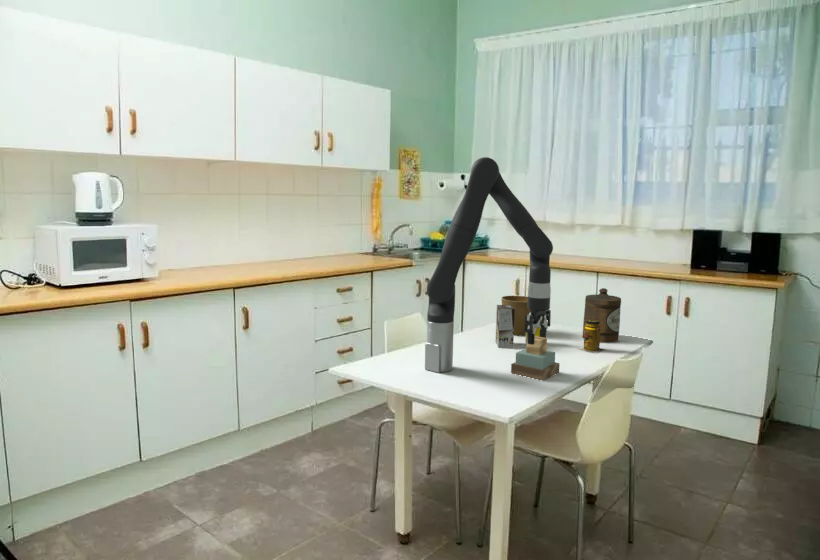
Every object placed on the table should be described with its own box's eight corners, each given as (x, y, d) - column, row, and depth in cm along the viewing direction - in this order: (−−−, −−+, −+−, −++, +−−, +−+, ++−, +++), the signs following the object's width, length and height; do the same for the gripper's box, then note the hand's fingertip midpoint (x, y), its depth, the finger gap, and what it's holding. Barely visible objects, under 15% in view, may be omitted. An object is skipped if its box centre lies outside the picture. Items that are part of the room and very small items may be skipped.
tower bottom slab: (542, 382, 198) (542, 370, 197) (510, 375, 205) (511, 363, 205) (558, 374, 207) (559, 363, 206) (528, 367, 214) (528, 356, 214)
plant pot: (503, 337, 256) (504, 301, 253) (497, 329, 270) (499, 295, 268) (537, 338, 256) (539, 301, 253) (530, 330, 271) (532, 295, 268)
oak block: (539, 355, 201) (539, 340, 200) (526, 352, 204) (526, 338, 204) (546, 352, 205) (547, 338, 204) (533, 349, 208) (534, 335, 207)
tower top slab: (542, 369, 198) (543, 358, 198) (515, 364, 204) (515, 352, 204) (554, 363, 206) (555, 351, 206) (528, 358, 212) (528, 347, 212)
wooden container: (617, 344, 247) (620, 292, 244) (580, 340, 253) (583, 289, 249) (619, 336, 260) (623, 287, 257) (584, 333, 266) (587, 284, 263)
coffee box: (513, 348, 239) (515, 308, 236) (497, 347, 239) (499, 308, 237) (510, 342, 248) (512, 304, 245) (495, 342, 248) (496, 304, 246)
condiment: (579, 349, 238) (580, 320, 236) (590, 346, 244) (591, 317, 242) (595, 353, 233) (597, 323, 231) (606, 349, 238) (608, 320, 237)
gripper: (539, 299, 194) (536, 347, 196) (558, 294, 205) (556, 340, 207) (518, 296, 199) (516, 344, 201) (539, 291, 210) (536, 336, 212)
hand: (536, 341), depth 204 cm, fingers open, 8 cm apart
